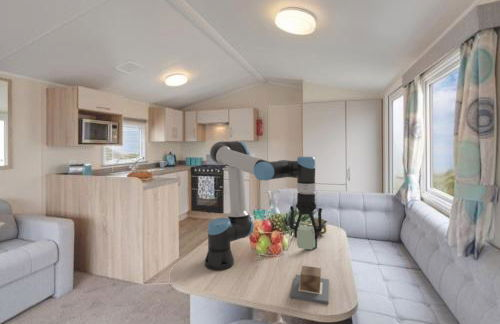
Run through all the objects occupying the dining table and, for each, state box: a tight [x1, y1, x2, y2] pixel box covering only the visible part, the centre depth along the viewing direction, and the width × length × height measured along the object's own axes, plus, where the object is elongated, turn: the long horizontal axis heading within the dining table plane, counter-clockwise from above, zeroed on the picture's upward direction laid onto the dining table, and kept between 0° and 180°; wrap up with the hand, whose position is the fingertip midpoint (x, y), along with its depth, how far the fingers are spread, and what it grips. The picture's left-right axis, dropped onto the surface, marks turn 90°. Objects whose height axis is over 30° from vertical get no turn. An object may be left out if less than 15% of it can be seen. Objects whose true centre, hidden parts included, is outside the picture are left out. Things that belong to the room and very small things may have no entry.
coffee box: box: [305, 227, 318, 251], centre depth 161 cm, size 8×3×13 cm, turn 123°
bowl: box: [307, 216, 328, 236], centre depth 187 cm, size 18×18×10 cm
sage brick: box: [297, 224, 314, 250], centre depth 115 cm, size 6×6×8 cm
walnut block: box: [300, 265, 322, 293], centre depth 116 cm, size 8×8×7 cm
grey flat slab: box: [290, 274, 330, 305], centre depth 116 cm, size 15×18×1 cm
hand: (305, 245), depth 115 cm, fingers closed on sage brick, 6 cm apart
